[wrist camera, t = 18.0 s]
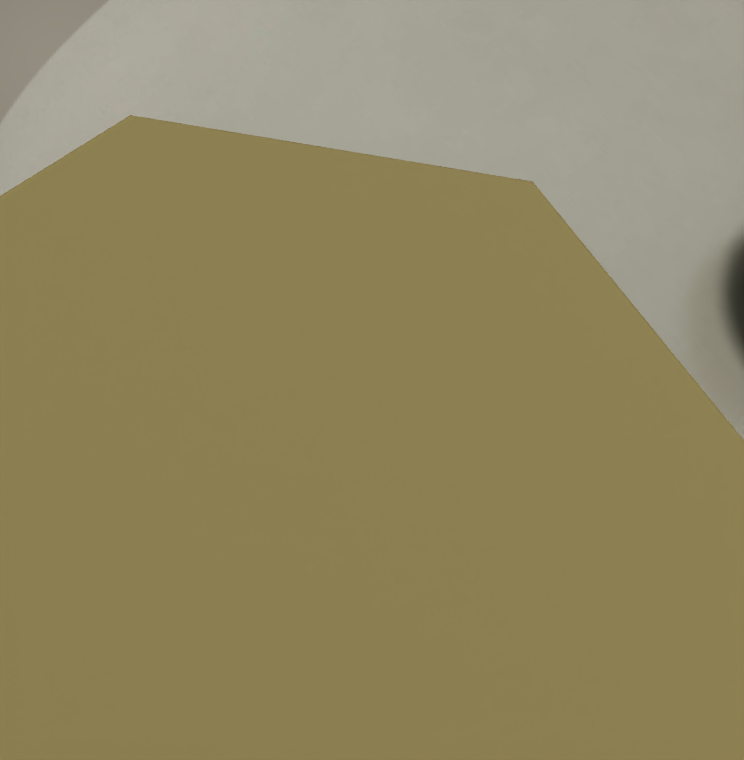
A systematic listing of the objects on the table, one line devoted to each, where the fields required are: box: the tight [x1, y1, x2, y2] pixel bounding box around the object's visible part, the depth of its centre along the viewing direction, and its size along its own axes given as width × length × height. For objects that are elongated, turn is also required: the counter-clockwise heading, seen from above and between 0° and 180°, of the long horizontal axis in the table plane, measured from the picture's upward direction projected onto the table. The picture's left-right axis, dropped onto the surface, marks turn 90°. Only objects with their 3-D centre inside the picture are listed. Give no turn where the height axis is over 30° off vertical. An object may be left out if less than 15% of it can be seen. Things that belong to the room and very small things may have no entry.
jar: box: [0, 115, 744, 760], centre depth 12 cm, size 9×9×15 cm
